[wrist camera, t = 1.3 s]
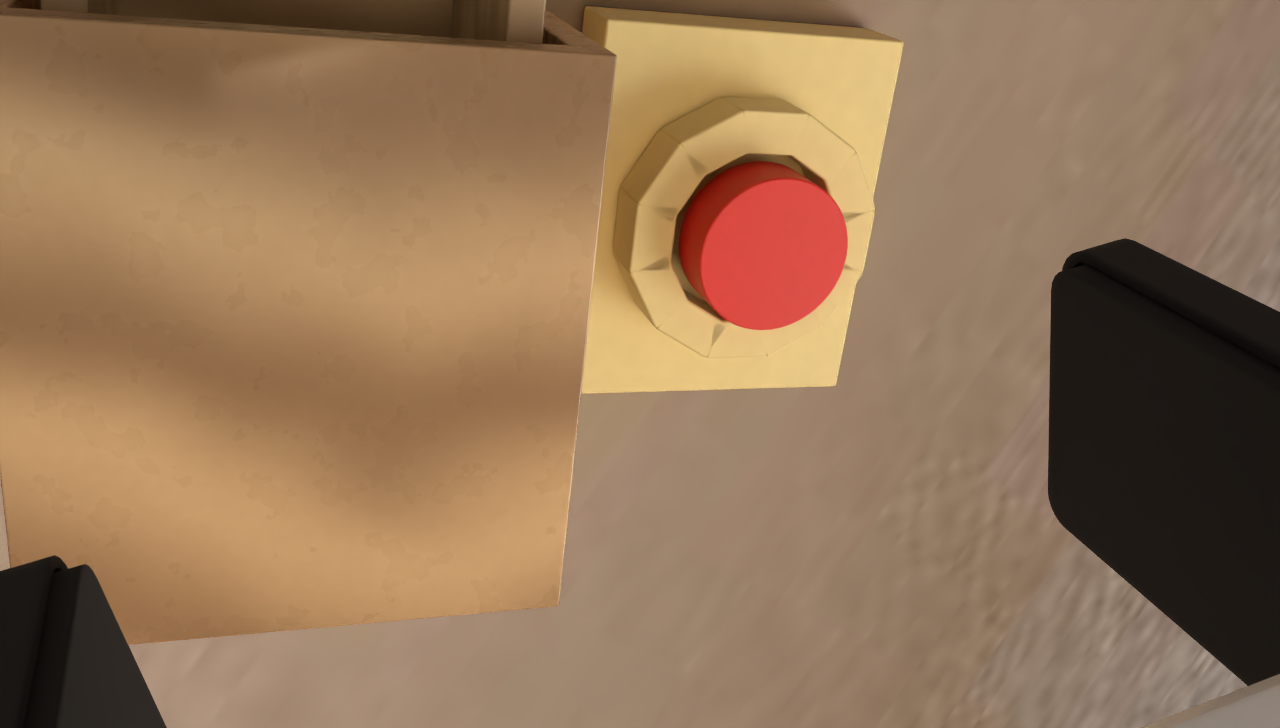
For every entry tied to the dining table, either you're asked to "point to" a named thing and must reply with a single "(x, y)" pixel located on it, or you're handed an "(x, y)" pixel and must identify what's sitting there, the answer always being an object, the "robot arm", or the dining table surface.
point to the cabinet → (294, 314)
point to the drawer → (345, 15)
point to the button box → (700, 150)
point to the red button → (763, 245)
